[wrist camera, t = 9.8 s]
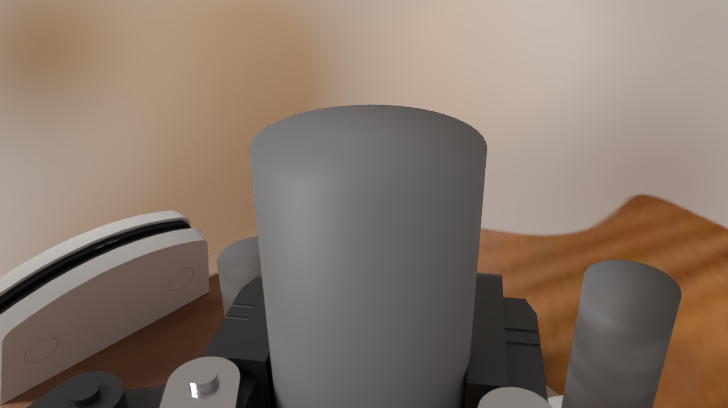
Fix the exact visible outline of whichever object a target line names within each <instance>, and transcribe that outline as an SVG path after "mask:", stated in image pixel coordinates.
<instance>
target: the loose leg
mask: <svg viewBox="0 0 728 408" xmlns="http://www.w3.org/2000/svg"><path fill="white" fill-rule="evenodd" d="M486 155H487V145H486V141H485V140H484V138H483V136H482V135H481V134H480V133H479V132H478V131H477V130H476V129H474V128H473V127H472V126H470V125H468V124H466V123H465V122H462V121H460V120H458V119H456V118H453V117H450V116H447V115H444V114H441V113H437V112H433V111H428V110H424V109H418V108H411V107H403V106H392V105H352V106H339V107H331V108H324V109H318V110H313V111H308V112H304V113H301V114H297V115H293V116H290V117H287V118H285V119H282V120H280V121H277V122H275V123H273V124H271V125H270V126H268V127H266V128H265V129H263V130H262V131H261V132H259V133H258V134H257V135H256V136H255V137H254V139H253V140H252V142H251V144H250V147H249V157H250V166H251V176H252V185H253V195H254V205H255V214H256V224H257V234H258V243H259V253H260V262H261V272H262V282H263V291H264V301H265V311H266V320H267V330H268V339H269V349H270V359H271V368H272V378H273V387H274V397H275V407H276V408H464V398H465V385H466V373H467V366H468V363H469V359H470V351H471V338H472V326H473V314H474V302H475V290H476V277H477V265H478V253H479V241H480V228H481V216H482V204H483V192H484V179H485V167H486Z"/></svg>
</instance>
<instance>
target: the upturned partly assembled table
mask: <svg viewBox="0 0 728 408" xmlns="http://www.w3.org/2000/svg"><path fill="white" fill-rule="evenodd" d="M217 266H218V273H219V280H220V287H221V294H222V301H223V308H224V315H225V318H226V314H227V312H228V310H229V309H230V307H231V306H232V305H233V302H234V300H235V298H236V297H237V295H238V293H239V291H240V290H241V288H243V287H244V286H245V285H247V284H248V283H249V282H251V281H252V280H253V279H255V278H256V277H262V272H261V262H260V253H259V243H258V237H251V238H247V239H243V240H240V241H238V242H235V243H233V244H231V245H229V246H228V247H227V248H225V249H224V250H223V251H222V252H221V253H220V255H219V257H218V259H217ZM680 300H681V290H680V287H679V286H678V284H677V283H676V282H675V281H674V280H673V279H672V278H671V277H670V276H668V275H667V274H665V273H664V272H662V271H660V270H658V269H656V268H654V267H651V266H649V265H646V264H642V263H638V262H634V261H627V260H607V261H601V262H598V263H595V264H593V265H592V266H590V267H589V268H588V269H587V270H586V271H585V274H584V279H583V284H582V290H581V296H580V302H579V308H578V313H577V319H576V325H575V331H574V336H573V342H572V348H571V354H570V360H569V365H568V371H567V377H566V383H565V388H564V394H563V395H559V394H558V393H556V392H555V391H554V390H552V389H551V388H549V387H548V386H547V385H546V391H547V398H548V402H549V404H550V405H551V406H552V408H652V407H653V403H654V399H655V395H656V391H657V388H658V384H659V380H660V376H661V372H662V369H663V365H664V361H665V357H666V353H667V349H668V346H669V342H670V338H671V334H672V330H673V327H674V323H675V319H676V315H677V311H678V308H679V304H680Z"/></svg>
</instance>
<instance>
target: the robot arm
mask: <svg viewBox="0 0 728 408" xmlns="http://www.w3.org/2000/svg"><path fill="white" fill-rule="evenodd" d="M540 345H541V344H540V337H539V329H538V321H537V314H536V313H535V312H534V310H533V309H532V308H531V306H530V305H529V304H528V302H527V301H526V300H525V299H519V298H506V297H503V285H502V275H500V274H487V273H477V277H476V290H475V302H474V314H473V326H472V338H471V351H470V359H469V363H468V366H467V373H466V385H465V398H464V408H552V406H551V405H550V404H549V402H548V398H547V391H546V383H545V375H544V368H543V360H542V352H541V348H540ZM27 408H276V407H275V397H274V387H273V378H272V368H271V359H270V349H269V339H268V330H267V320H266V311H265V301H264V291H263V282H262V277H256V278H255V279H253V280H252V281H251V282H249V283H248V284H247V285H245V286H244V287H243V288H241V290H240V291H239V293H238V295H237V297H236V298H235V300H234V302H233V305H232V306H231V307H230V309H229V310H228V312H227V314H226V318H224V319H223V321H222V323H221V324H220V326H219V328H218V330H217V331H216V333H215V335H214V337H213V338H212V340H211V342H210V344H209V345H208V347H207V349H206V350H205V352H204V354H203V356H202V357H201V358H197V359H194V360H191V361H189V362H187V363H185V364H183V365H181V366H180V367H179V368H177V369H176V370H175V371H174V372H173V373H172V374H171V376H170V377H169V379H168V381H167V384H164V385H160V386H155V387H148V388H141V389H134V390H126V391H125V389H124V385H123V382H122V380H121V379H120V378H119V376H117V375H116V374H114V373H111V372H107V371H90V372H85V373H81V374H78V375H75V376H73V377H71V378H69V379H67V380H65V381H64V382H62V383H60V384H59V385H58V386H56V387H55V388H53V389H52V390H51V391H49V392H48V393H46V394H45V395H44V396H42V397H41V398H39V399H38V400H37V401H35V402H34V403H33V404H31V405H30V406H28V407H27Z"/></svg>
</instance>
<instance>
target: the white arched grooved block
mask: <svg viewBox="0 0 728 408" xmlns="http://www.w3.org/2000/svg"><path fill="white" fill-rule="evenodd" d="M208 269H209V268H208V244H207V241H206V240H205V238H204V236H203V235H202V233H201V231H200V230H199V229H197V228H191V227H190V221H189V219H187V218H186V217H184V216H183V215H181V214H179V213H178V212H176V211H163V212H155V213H150V214H144V215H138V216H135V217H131V218H127V219H123V220H120V221H116V222H113V223H110V224H107V225H104V226H101V227H99V228H95V229H93V230H90V231H88V232H85V233H83V234H81V235H78V236H76V237H74V238H72V239H69V240H67V241H65V242H63V243H60V244H58V245H56V246H55V247H53V248H51V249H49V250H47V251H45V252H43V253H41V254H39V255H37V256H36V257H34V258H32V259H30V260H28V261H26V262H25V263H23V264H21V265H20V266H18V267H16V268H15V269H13V270H12V271H10V272H8V273H7V274H5V275H4V276H2V277H1V278H0V405H1V404H3V403H5V402H7V401H9V400H11V399H13V398H14V397H16V396H18V395H20V394H22V393H24V392H25V391H27V390H29V389H31V388H33V387H35V386H36V385H38V384H40V383H42V382H44V381H46V380H48V379H49V378H51V377H53V376H55V375H57V374H59V373H60V372H62V371H64V370H66V369H68V368H70V367H72V366H73V365H75V364H77V363H79V362H81V361H83V360H84V359H86V358H88V357H90V356H92V355H94V354H96V353H97V352H99V351H101V350H103V349H105V348H107V347H108V346H110V345H112V344H114V343H116V342H118V341H119V340H121V339H123V338H125V337H127V336H129V335H131V334H132V333H134V332H136V331H138V330H140V329H142V328H143V327H145V326H147V325H149V324H151V323H153V322H155V321H156V320H158V319H160V318H162V317H164V316H166V315H167V314H169V313H171V312H173V311H175V310H177V309H179V308H180V307H182V306H184V305H186V304H188V303H190V302H191V301H193V300H195V299H197V298H199V297H201V296H202V295H204V294H206V293H208V292H209V270H208Z"/></svg>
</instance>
